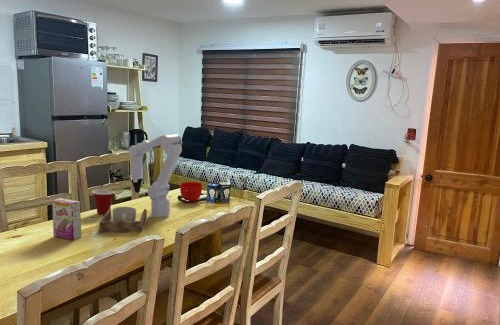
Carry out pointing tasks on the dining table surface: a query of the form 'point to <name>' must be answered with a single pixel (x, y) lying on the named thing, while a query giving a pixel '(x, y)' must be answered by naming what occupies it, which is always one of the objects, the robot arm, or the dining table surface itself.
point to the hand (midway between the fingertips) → (137, 192)
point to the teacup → (124, 214)
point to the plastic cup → (103, 200)
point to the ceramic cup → (191, 190)
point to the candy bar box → (66, 218)
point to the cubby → (121, 224)
